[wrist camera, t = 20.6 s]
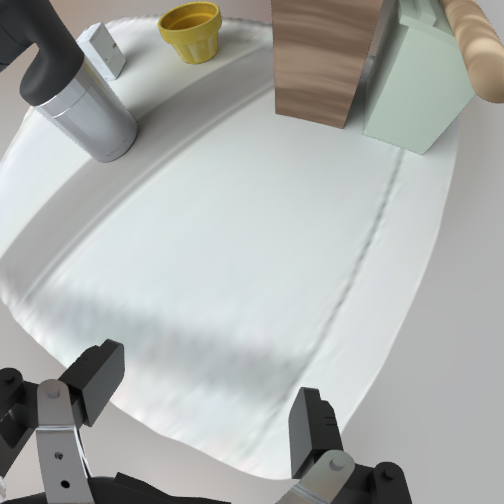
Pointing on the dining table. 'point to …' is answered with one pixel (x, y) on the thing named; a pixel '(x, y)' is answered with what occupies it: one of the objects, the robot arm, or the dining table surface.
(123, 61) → the skincare box
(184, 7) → the plant pot
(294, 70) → the walnut tub
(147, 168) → the dining table surface
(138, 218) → the dining table surface
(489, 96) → the tan roll
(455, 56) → the pale green lidded tub
